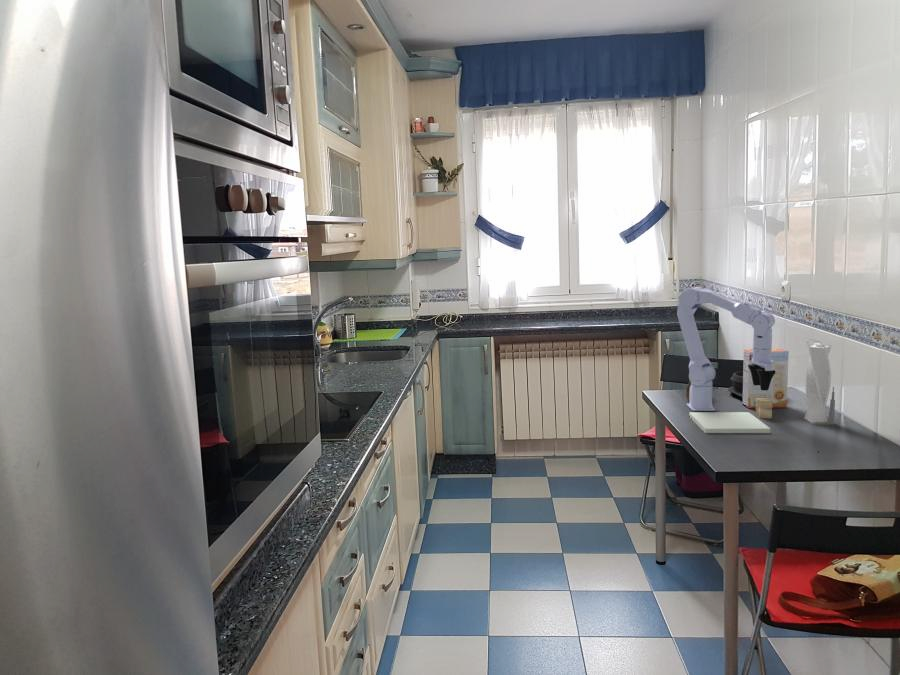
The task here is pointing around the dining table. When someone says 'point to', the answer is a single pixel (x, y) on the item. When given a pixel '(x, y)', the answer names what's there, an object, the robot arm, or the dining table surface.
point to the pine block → (764, 407)
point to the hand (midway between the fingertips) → (760, 387)
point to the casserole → (737, 384)
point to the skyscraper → (818, 385)
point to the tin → (688, 390)
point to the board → (728, 422)
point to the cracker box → (777, 384)
